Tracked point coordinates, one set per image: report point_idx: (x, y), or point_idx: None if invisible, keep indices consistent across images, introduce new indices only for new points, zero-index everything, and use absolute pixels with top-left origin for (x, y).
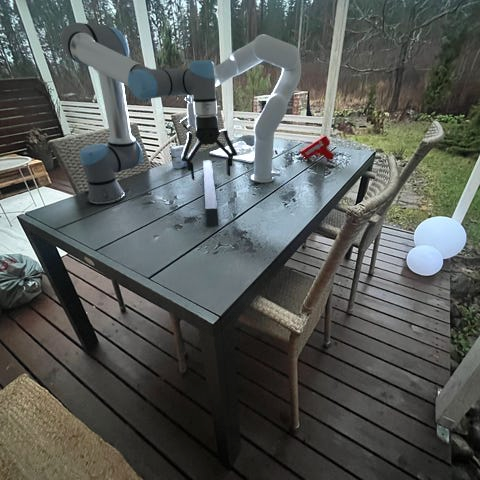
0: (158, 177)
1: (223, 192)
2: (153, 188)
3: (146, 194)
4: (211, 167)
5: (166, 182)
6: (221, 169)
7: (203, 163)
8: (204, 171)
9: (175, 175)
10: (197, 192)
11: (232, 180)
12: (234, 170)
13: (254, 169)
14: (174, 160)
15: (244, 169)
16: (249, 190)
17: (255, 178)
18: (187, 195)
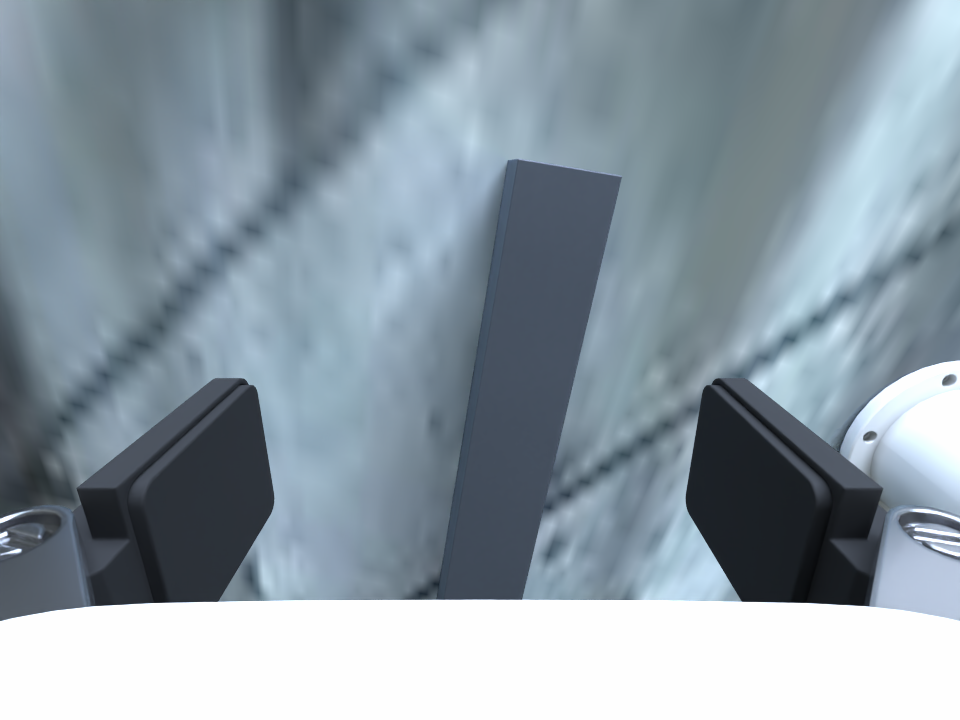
0: (36, 131)
1: (558, 584)
2: (63, 399)
3: (42, 490)
4: (553, 439)
5: (146, 298)
6: (723, 66)
7: (499, 280)
8: (464, 523)
9: (208, 120)
10: (393, 545)
11: (698, 408)
12: (836, 150)
13: (930, 499)
14: None
15: (948, 150)
16: (726, 597)
17: (872, 475)
18: (326, 570)
